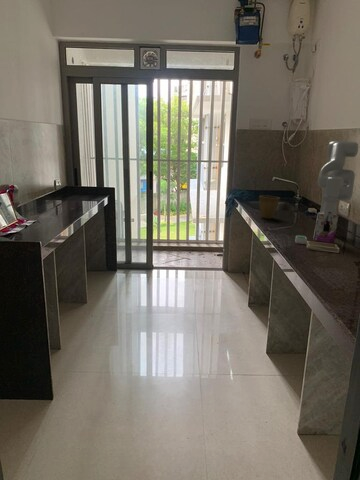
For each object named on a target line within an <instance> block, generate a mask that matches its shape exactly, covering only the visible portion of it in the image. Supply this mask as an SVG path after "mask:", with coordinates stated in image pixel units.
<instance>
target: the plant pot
mask: <svg viewBox="0 0 360 480" xmlns="http://www.w3.org/2000/svg"><path fill="white" fill-rule="evenodd" d="M258 197H259V198H258V199H259V200H258V201H259V202H258V203H259V210H260V216H261V219H272V218H273V216H274V215H275V212H276V211H277V207H278V205H279V203H280V197H279V196H275V195H274V196H273V195H264V194H263V195H260V194H259V196H258Z"/></svg>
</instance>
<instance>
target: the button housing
mask: <svg viewBox="0 0 360 480" xmlns="http://www.w3.org/2000/svg"><path fill="white" fill-rule="evenodd" d="M306 241H308V239H307V236H305V239H304V238H298V235H295V238H294V242H295V244H302V245H306Z"/></svg>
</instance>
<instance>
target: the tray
mask: <svg viewBox="0 0 360 480" xmlns="http://www.w3.org/2000/svg"><path fill="white" fill-rule="evenodd" d="M305 246H306V248H307V250H313V251H321V252H328V253H330V252H331V253H337V254H338V253H340V247H339V246H338V245H337V243H336V244H335V243H327V242H319V241H314V240H313V241H310V240H307V241H306V244H305Z"/></svg>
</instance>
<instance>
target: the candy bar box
mask: <svg viewBox="0 0 360 480" xmlns="http://www.w3.org/2000/svg"><path fill="white" fill-rule="evenodd" d="M339 217H340V216H339V215H338V214H337V213H336V214H333V219H332V220H331V222H330V229H329V232H326V231H323V228H324V224H325V219H323V213H320V211H319V212H317V216H316V221H315V227H314V230H315V231H314V230H313V232H314V233H313V242H322V243H330V244H335V243H334V242H335V238H336V233H337V228H338V222H339V219H340V218H339ZM331 218H332V217H331ZM326 219H328V218H326ZM327 221H328V220H327Z"/></svg>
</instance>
